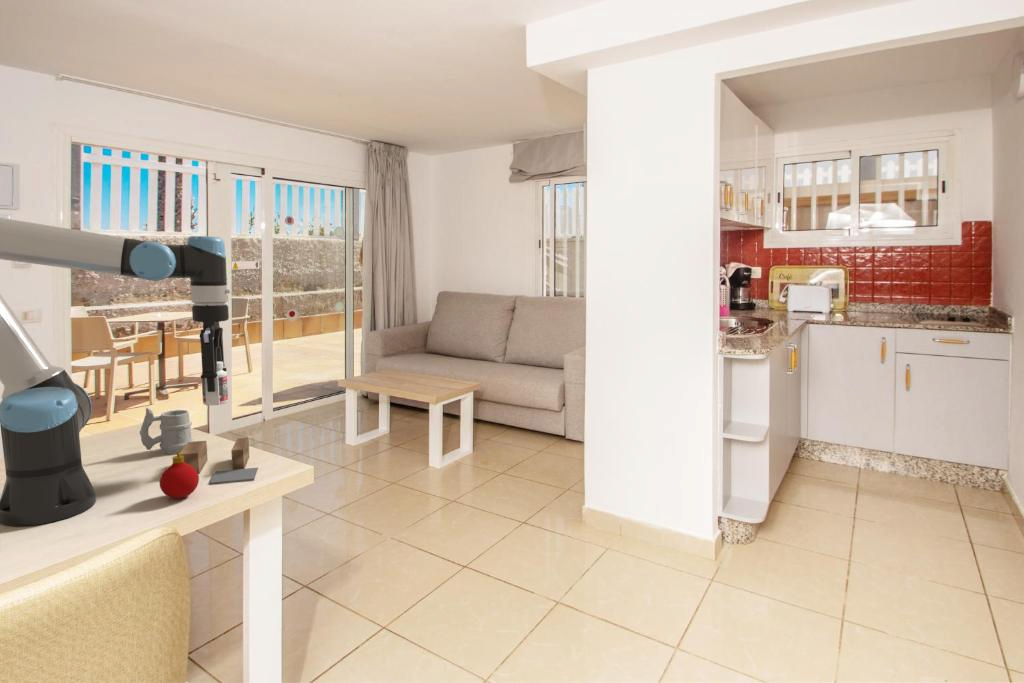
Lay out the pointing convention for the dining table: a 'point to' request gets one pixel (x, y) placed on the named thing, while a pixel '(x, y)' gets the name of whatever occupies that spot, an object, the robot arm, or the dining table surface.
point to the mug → (168, 430)
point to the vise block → (198, 454)
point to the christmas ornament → (179, 478)
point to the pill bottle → (222, 385)
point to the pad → (234, 475)
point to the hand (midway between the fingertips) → (215, 401)
